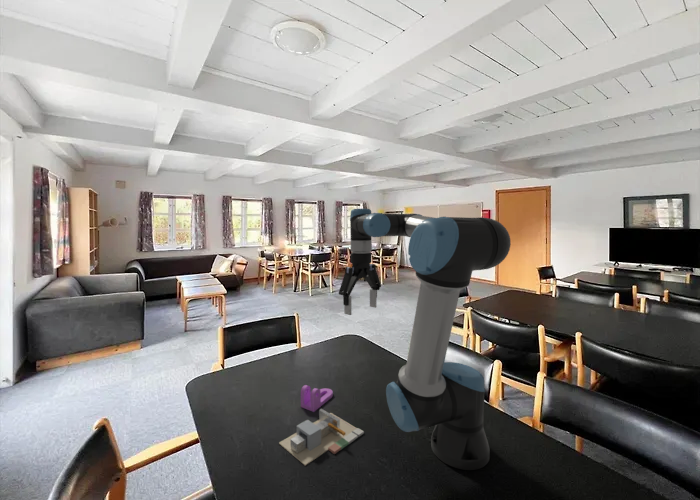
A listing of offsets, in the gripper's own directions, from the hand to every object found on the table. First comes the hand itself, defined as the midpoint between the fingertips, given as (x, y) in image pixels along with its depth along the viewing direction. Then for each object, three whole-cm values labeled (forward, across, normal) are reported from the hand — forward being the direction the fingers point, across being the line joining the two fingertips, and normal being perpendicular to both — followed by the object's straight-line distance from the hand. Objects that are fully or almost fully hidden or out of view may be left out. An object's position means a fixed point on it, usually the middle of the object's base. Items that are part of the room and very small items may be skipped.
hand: (361, 310), depth 116 cm
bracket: (+31, +15, -7) cm, 35 cm away
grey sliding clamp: (+30, +29, +10) cm, 43 cm away
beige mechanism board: (+31, +27, +9) cm, 42 cm away
